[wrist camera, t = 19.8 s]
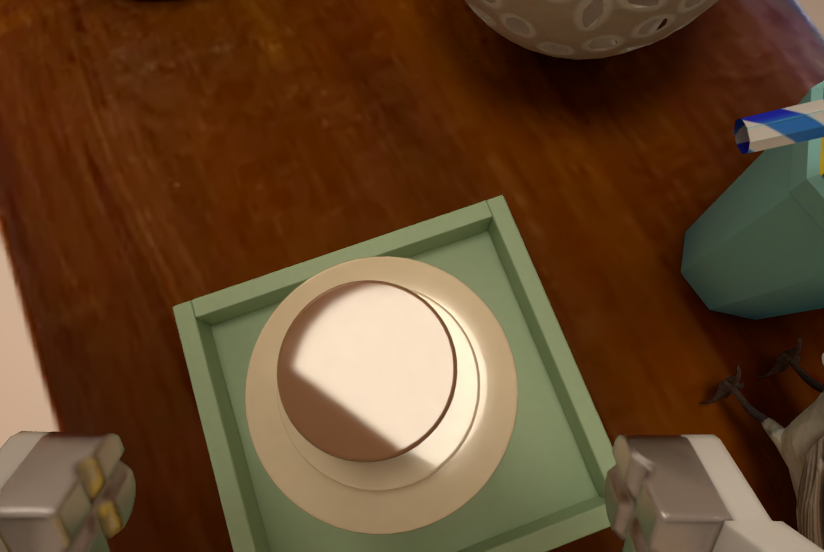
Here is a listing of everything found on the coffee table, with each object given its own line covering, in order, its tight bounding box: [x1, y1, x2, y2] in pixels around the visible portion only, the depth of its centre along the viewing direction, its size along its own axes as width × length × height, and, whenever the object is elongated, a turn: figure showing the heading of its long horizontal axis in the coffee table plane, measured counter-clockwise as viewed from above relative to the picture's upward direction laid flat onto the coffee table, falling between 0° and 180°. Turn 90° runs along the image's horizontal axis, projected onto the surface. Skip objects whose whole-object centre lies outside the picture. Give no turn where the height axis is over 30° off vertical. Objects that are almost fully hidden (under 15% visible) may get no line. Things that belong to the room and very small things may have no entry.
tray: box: [173, 195, 616, 552], centre depth 23 cm, size 15×14×3 cm
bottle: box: [245, 256, 518, 535], centre depth 17 cm, size 6×6×15 cm
